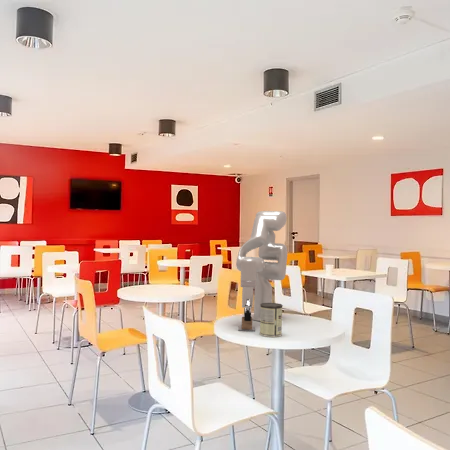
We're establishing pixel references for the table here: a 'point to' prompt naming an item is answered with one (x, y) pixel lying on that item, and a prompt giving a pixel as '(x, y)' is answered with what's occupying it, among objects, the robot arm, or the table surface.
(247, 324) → the walnut block
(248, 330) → the slate coaster
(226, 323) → the table surface
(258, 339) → the table surface
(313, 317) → the table surface
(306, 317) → the table surface
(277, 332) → the coffee can
